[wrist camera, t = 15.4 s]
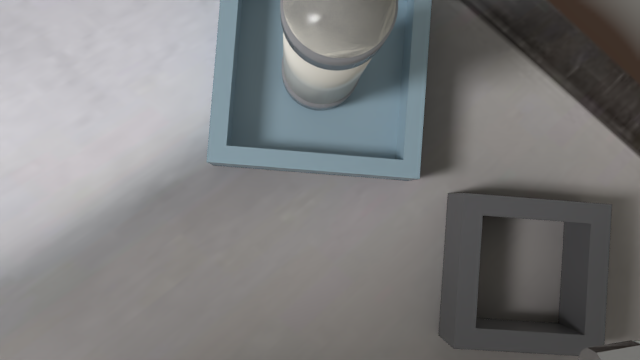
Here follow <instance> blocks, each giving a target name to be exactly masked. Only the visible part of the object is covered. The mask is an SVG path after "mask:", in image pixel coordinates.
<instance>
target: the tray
mask: <svg viewBox="0 0 640 360" xmlns="http://www.w3.org/2000/svg"><path fill="white" fill-rule="evenodd" d="M431 4H432V0H398V13H397V18H396V22H395V24H394V27H393V29H392V31H391V33H390V34H389V36H388V38H387V39H386V41H385V42H384V44H383V45H382V47H381V48H380V50H379V51H378V52H377V53H376V54H375V55H374V56H373V57H372V58H371V60H370V62H369V63H368V65H367V67H366V68H365V70H364V71H363V73H362V75H361V76H360V78H359V81H358V84H357V86H356V87H355V89H354V91H353V92H352V94H351V95H350V96H349V98H348V99H347V100H346V101H345V102H344V103H342V104H341V105H339V106H337V107H335V108H333V109H330V110H324V111H316V110H311V109H307V108H305V107H303V106H301V105H299V104H298V103H296V102H295V101H294V100H293V99H292V98H291V97H290V95H289V94H288V93H287V91H286V89H285V87H284V84H283V80H282V58H283V29H282V25H281V16H280V0H220V9H219V21H218V33H217V45H216V56H215V68H214V80H213V92H212V104H211V116H210V128H209V140H208V151H207V162H208V163H210V164H212V165H215V166H228V167H241V168H253V169H266V170H279V171H291V172H304V173H316V174H329V175H342V176H354V177H367V178H380V179H392V180H405V181H409V180H415V179H420V165H421V150H422V135H423V121H424V106H425V91H426V77H427V62H428V47H429V33H430V18H431Z"/></svg>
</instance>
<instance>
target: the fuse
mask: <svg viewBox="0 0 640 360" xmlns="http://www.w3.org/2000/svg"><path fill="white" fill-rule="evenodd" d="M397 13H398V0H280V16H281V25H282V29H283V58H282V80H283V84H284V87H285V89H286V91H287V93H288V94H289V95H290V97H291V98H292V99H293V100H294V101H295V102H296V103H298V104H299V105H301V106H303V107H305V108H307V109H311V110H316V111H324V110H330V109H333V108H335V107H337V106H339V105H341V104H342V103H344V102H345V101H346V100H347V99H348V98H349V96H350V95H351V94H352V92H353V91H354V89H355V87H356V86H357V84H358V81H359V78H360V76H361V75H362V73H363V71H364V70H365V68H366V67H367V65H368V63H369V62H370V60H371V58H372V57H373V56H374V55H375V54H376V53H377V52H378V51H379V50H380V48H381V47H382V45H383V44H384V42H385V41H386V39H387V38H388V36H389V34H390V33H391V31H392V29H393V27H394V24H395V22H396V18H397Z"/></svg>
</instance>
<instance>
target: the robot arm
mask: <svg viewBox="0 0 640 360" xmlns="http://www.w3.org/2000/svg"><path fill="white" fill-rule="evenodd" d="M578 360H640V340H635V341H625V342H618V343H612V344H606V345H600V346H594V347H587V348H585V349H584V350H582V351H581V353H580V355H579V357H578Z"/></svg>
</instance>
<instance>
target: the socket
mask: <svg viewBox="0 0 640 360" xmlns="http://www.w3.org/2000/svg"><path fill="white" fill-rule="evenodd" d="M611 211H612V204H599V203H587V202H574V201H561V200H548V199H535V198H523V197H510V196H497V195H484V194H471V193H448V200H447V215H446V230H445V245H444V260H443V276H442V291H441V306H440V321H439V336H440V337H441V338H442V339H443V340H444V341H446V342H447V343H448V344H449V345H450V346H451V347H452V348H454V349H471V350H488V351H504V352H521V353H538V354H555V355H571V356H579V355H580V353H581V351H582V350H584V349H585V348H587V347H594V346H600V345H604V341H605V323H606V304H607V285H608V267H609V248H610V229H611ZM483 216H497V217H510V218H523V219H536V220H550V221H563V222H564V236H563V253H562V271H561V288H560V306H559V323H545V322H529V321H513V320H498V319H482V318H476V315H477V300H478V284H479V268H480V252H481V236H482V221H483Z"/></svg>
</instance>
